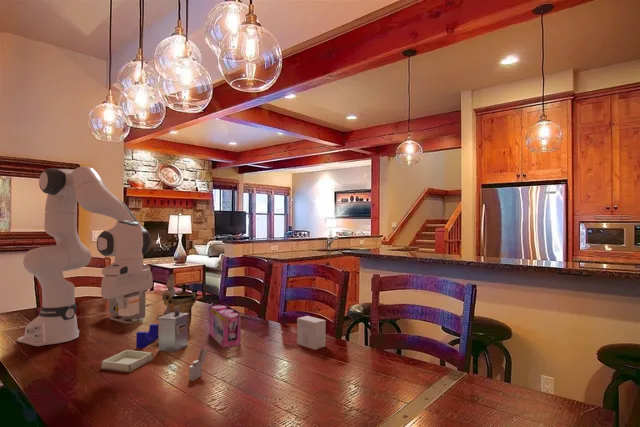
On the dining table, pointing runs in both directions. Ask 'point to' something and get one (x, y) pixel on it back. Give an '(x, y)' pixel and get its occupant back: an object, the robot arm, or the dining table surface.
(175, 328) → the box
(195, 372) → the lighter
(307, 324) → the skincare box
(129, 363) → the parts tray
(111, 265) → the robot arm
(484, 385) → the dining table surface
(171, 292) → the figurine
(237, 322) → the gum box
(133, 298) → the block
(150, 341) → the blue notched block
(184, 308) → the pot
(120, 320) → the network device
